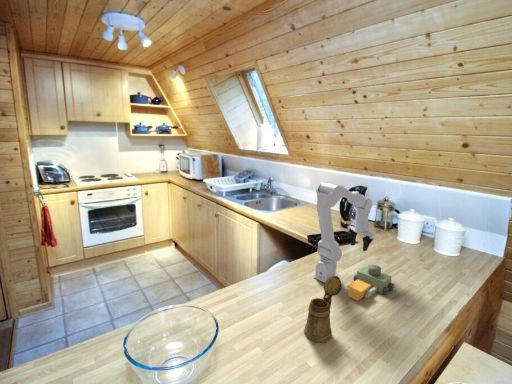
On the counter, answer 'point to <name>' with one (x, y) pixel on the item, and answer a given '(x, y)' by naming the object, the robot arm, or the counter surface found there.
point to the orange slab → (358, 289)
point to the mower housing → (374, 280)
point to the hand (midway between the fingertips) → (358, 247)
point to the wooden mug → (322, 312)
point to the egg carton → (341, 234)
